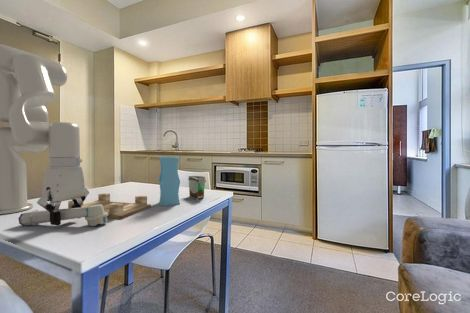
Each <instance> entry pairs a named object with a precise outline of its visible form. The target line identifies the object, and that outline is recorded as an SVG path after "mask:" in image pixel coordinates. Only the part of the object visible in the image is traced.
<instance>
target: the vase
mask: <svg viewBox="0 0 470 313" xmlns="http://www.w3.org/2000/svg"><path fill="white" fill-rule="evenodd" d="M179 159H180V157H179V156H159V157H158V160H159V163H160V175H159V178H158V185H159V190H160V192H159V195H160V196H159V205H160V206H163V207H164V206H174V205H180V204H181V203H180V196H179V192H180V187H181V186H180V185H181V180H180V177H179V170H178V168H179V167H178V166H179V161H180V160H179Z"/></svg>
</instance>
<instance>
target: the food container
mask: <svg viewBox="0 0 470 313" xmlns="http://www.w3.org/2000/svg"><path fill="white" fill-rule="evenodd" d="M206 183H207V179H206V177H205V176H202V175H190V176H188V186H189V187H188V190H189V193H188V194H189V198H193V199H194V200H197V201H199V200H203V199H204V197H205V188H206V187H205V184H206Z"/></svg>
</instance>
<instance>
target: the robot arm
mask: <svg viewBox="0 0 470 313" xmlns="http://www.w3.org/2000/svg"><path fill="white" fill-rule="evenodd" d="M66 70H67V69H66V68H65V67H64V66H63V64H61V63H60V62H57V61H54V60H51V59H49V58H47V57H44V56H41V55H37V54H34V53H32V52H28V51H26V50H23V49H18V48H16V47H12V46H8V45H5V44H1V43H0V123H5V124H6V123H7V124H9V126H0V215H6V214H7V215H8V214H14V213H19V212H23V211H27V210H31V209H32V208H33V207H34V204H33V203H29V202H28V178H27V177H28V176H27V174H28V173H27V170H28V169H27V162H26V161H25V159H24V158H22V157H23V156H20V154H19V153H37V152H38V153H40V152H44V151H45V150H46V149H47V148H48V162H49V163H48V166H49V168H46V169H45V171H44V176H43V181H42V182H43V183H42V196H40V198H39V199H37V201H36V205H37V204H38V205H39V206H40V207H42V208H43V209H45V210H47V211H48V212H50V222H49V223H50V225H52V226H60V225H61V224H62V222H61V221H62V220H61V212H60V211H58V210H59V209H60V206H61V203H62V202H65V201H71V200H72V203H73V205H72V207H71V208H81V206H82V205H83V204H84V201H85V200H86V199H87V197H88V196H89V195H90V191H89V190H88V189H87V188H86V187H85V185H86V184H85V176H84V172H83V167H82V166H81V163H82V162H83V160H82V158H81V157H80V156H81V150H80V149H81V146H80V143H81V141H80V140H81V139H80V126H79V125H78V124H76V123H74V122H65V121H55V122H49V121H50V119H49V112H48V109H47V107H46V105H49V104H51V103H52V102H53V101H55V100H56V94H55V90H54V88H53V86H56V87H63V86H65V84H66V83H67V80H68V72H67V71H66Z"/></svg>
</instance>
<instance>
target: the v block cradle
mask: <svg viewBox="0 0 470 313" xmlns="http://www.w3.org/2000/svg"><path fill="white" fill-rule="evenodd" d="M97 195H98V199H97V200H93V201H90V202H86V203H83V205H82V206H81V207H89V206H92V205H97V204H102V206H103V208H104V211H105V212H108V216H107V219H115V220H123V219H126V218H128V217H131V216H134V215H136V214H137V213H140V212H142V211H145V210H148V209H150V208H152V204H149V203H148V196H147V195H136V196H135V197H134V202H124V201H123V202H122V201H121V202H120V201H111V193H106V192H105V193H103V192H102V193H97ZM72 205H73V203H72V200H71V199H70V200H67V209H68V208H71V207H72Z"/></svg>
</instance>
